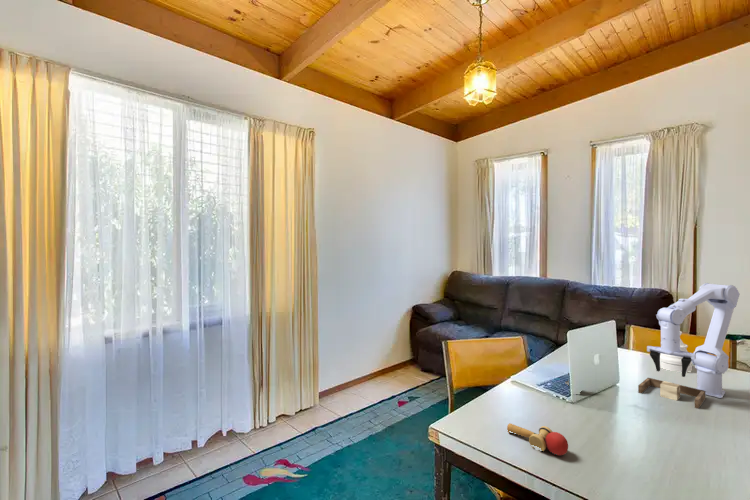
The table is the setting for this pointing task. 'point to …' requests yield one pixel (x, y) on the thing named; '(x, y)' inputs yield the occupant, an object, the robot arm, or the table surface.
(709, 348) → the robot arm
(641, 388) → the open walnut frame
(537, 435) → the kendama
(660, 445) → the table surface
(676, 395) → the maple block
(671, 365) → the honey pot
